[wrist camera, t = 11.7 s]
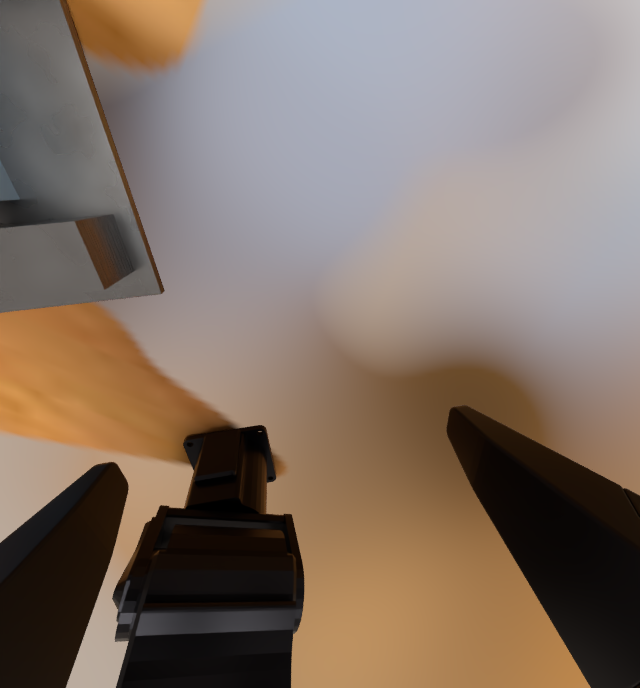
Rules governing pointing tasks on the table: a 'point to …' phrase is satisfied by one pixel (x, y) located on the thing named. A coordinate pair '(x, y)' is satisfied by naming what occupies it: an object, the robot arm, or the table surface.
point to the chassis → (61, 173)
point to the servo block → (6, 186)
